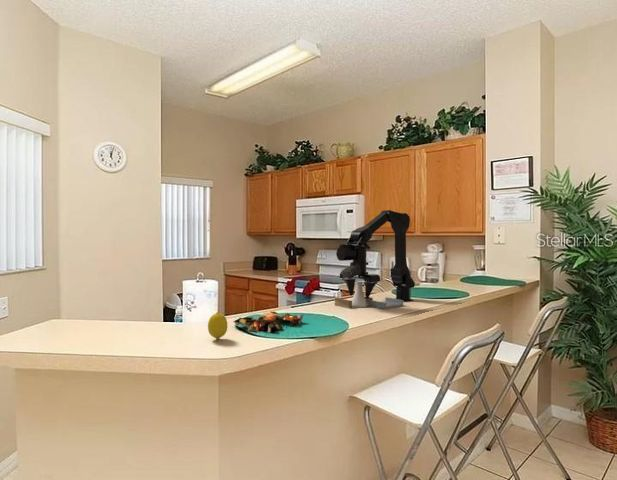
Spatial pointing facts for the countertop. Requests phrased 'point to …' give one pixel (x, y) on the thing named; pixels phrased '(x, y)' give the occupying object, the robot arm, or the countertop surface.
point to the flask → (359, 296)
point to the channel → (347, 302)
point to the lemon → (217, 325)
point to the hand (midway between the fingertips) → (359, 296)
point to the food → (268, 322)
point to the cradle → (386, 303)
